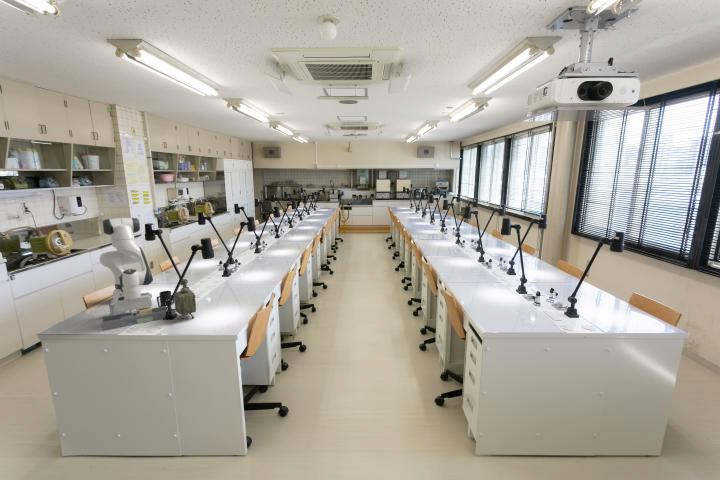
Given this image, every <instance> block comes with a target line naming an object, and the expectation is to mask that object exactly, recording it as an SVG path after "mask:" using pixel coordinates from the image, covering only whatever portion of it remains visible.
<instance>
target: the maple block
mask: <svg viewBox="0 0 720 480" xmlns="http://www.w3.org/2000/svg"><path fill="white" fill-rule="evenodd" d="M152 308H153V307H152V306H150V307H144V308H139V310H138V311H139V315H145V314H150V313H152Z"/></svg>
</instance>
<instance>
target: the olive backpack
mask: <svg viewBox="0 0 720 480" xmlns="http://www.w3.org/2000/svg"><path fill="white" fill-rule="evenodd" d="M181 284H182V288H180V289H179V290H180V291H177V292H174V294H175V295H174V294H173V299H174V300H173V301H174V309H175V311H176V312H177V313H178V314H179V315H182V316H181V319H184V318H185V315H190V316H191V319H194V318H195V316H194V315H193V313H196V312H197V303H196V295H195V292H194V291H193V290H191V289H189V288H188V287H186V286H187V285H186V284H187V283H186V282H185V281H184V280H182V282H181Z"/></svg>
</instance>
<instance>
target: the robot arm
mask: <svg viewBox="0 0 720 480" xmlns="http://www.w3.org/2000/svg"><path fill="white" fill-rule="evenodd" d="M141 227H142V225H141V221H140V219H138V218H137V217H131V218H130V217H119V218H117V217H116V218H110V219H109V218H107V219H104V220H102V222H101V225H100V228H101V230H102V232H103V234H105V235H109V236H110V240H111V241H110V242H111V246H112V247H113V248H115V250H110V251H105V252H103V253H102V254H100V255H99V262H100V263H101V265H102V266H104V267H105V268H108V269H109V270H110V271H111V272H112V274H113V276H114V277H113V278H114V288H115V289H114V290H113V293H112V294H113V298H112V300H111V301H110V304H111V303H115V304H114V311H115V312H121V311H129V312H130V313H131V314H132V316H135V315H137V312H138V311H139V308H144V307H150V306H151V307H152V306H153V301H152V298H153V295H152V293H151V292H143V293H141V288H140V286H149V285H150V284H151V283H153V281H154V274H153V273H152V271H151V269H150V265H149V264H148V261H147V258H146V256H145V253H144V250H143V248H142V247H140V246H138V244H137V243H136V241H135V235H134V234H135V233H139V231H140V230H141ZM138 262H139V265H140V267H141V270H136V269H135V268H134V269H133V268H131V269H128V268H124V267H123V266H124V265H130V264H135V263H138ZM133 310H135V311H136V312H135V311H133ZM129 312H128V313H129Z"/></svg>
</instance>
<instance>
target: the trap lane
mask: <svg viewBox="0 0 720 480" xmlns="http://www.w3.org/2000/svg"><path fill="white" fill-rule="evenodd" d="M166 310H167V307H166V306H163V307H158V306H157V307H154V308H153V307H152V313H150V314H145V315H139V310H138V312H137V315H135V316H132V314H131V313H130V312H126V313H123V314H118V315H112V316H110V315H107V316H103V317H102V322H101V326H102V331H107V330H108V331H109V330H112V329H118V328H122V327H128V326H133V325H137V324H139V325H140V324H143V323H148V322H154V321H158V320H163V318H164V317H165V315H166V312H167V311H166ZM136 311H137V310H134V312H136ZM164 319H165V318H164Z"/></svg>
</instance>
